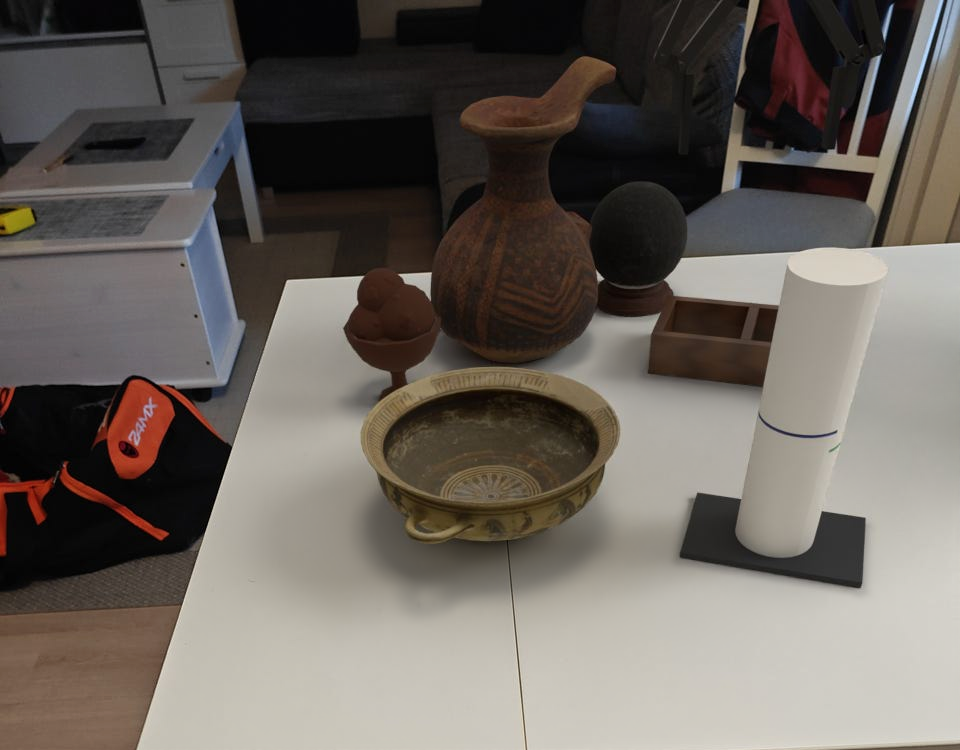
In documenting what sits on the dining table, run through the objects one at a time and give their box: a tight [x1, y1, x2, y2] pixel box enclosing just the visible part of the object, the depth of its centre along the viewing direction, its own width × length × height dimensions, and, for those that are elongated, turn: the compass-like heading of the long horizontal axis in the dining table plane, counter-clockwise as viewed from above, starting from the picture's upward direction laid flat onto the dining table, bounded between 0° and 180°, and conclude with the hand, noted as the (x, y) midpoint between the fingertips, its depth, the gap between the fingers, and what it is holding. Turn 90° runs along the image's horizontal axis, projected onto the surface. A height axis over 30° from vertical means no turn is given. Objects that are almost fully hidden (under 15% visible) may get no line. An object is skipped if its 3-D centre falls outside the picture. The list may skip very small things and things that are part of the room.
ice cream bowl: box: [342, 267, 441, 403], centre depth 100 cm, size 11×11×15 cm
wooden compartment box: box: [647, 295, 779, 387], centre depth 106 cm, size 22×11×5 cm, turn 71°
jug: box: [429, 56, 617, 364], centre depth 105 cm, size 22×22×30 cm
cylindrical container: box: [735, 247, 889, 558], centre depth 74 cm, size 7×7×25 cm
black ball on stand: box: [589, 180, 688, 317], centre depth 117 cm, size 13×13×15 cm
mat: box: [679, 492, 867, 588], centre depth 83 cm, size 16×10×1 cm, turn 71°
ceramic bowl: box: [360, 366, 621, 545], centre depth 85 cm, size 30×24×10 cm
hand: (754, 151), depth 84 cm, fingers open, 13 cm apart
